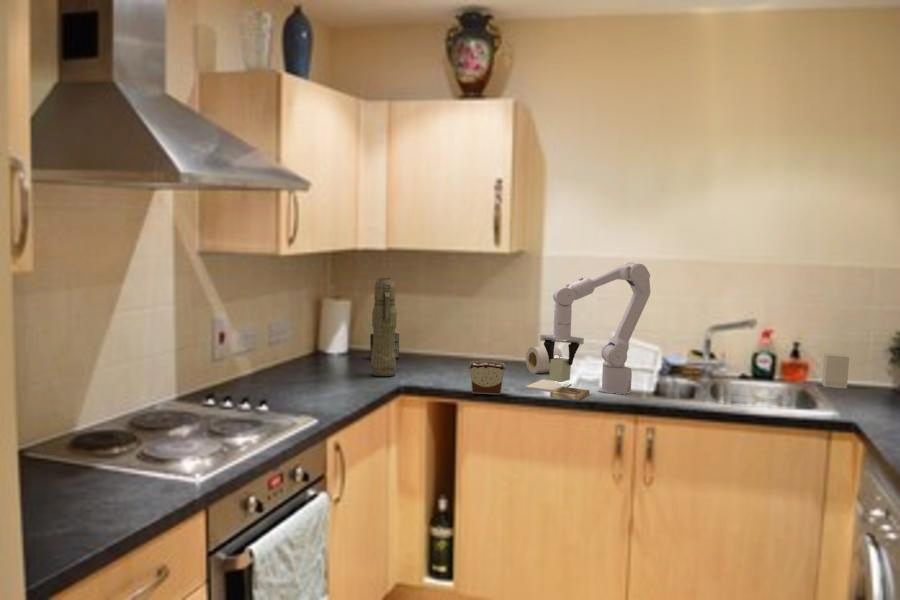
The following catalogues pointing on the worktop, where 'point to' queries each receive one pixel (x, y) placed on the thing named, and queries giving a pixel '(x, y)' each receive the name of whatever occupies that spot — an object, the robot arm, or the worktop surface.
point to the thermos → (384, 328)
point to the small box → (395, 345)
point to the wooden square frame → (559, 394)
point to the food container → (487, 376)
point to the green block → (559, 370)
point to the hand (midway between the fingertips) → (560, 363)
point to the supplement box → (835, 370)
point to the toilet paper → (539, 359)
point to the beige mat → (544, 386)
